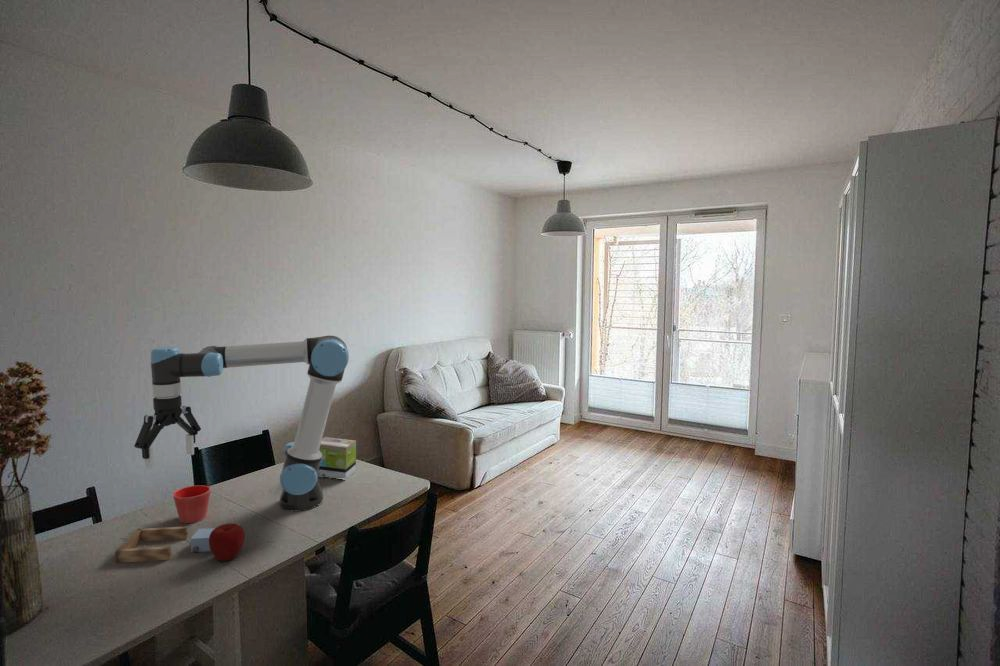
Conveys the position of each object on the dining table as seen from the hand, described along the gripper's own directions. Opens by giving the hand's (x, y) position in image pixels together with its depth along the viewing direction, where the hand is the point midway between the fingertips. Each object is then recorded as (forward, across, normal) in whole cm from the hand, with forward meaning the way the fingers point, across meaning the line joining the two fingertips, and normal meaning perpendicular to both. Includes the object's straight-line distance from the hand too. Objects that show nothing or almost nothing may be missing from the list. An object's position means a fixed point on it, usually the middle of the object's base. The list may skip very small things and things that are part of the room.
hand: (170, 460), depth 165 cm
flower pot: (+24, -9, -3) cm, 26 cm away
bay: (+24, +10, +5) cm, 26 cm away
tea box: (+25, -61, +14) cm, 68 cm away
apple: (+25, +4, +28) cm, 37 cm away
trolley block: (+24, +2, +18) cm, 30 cm away
